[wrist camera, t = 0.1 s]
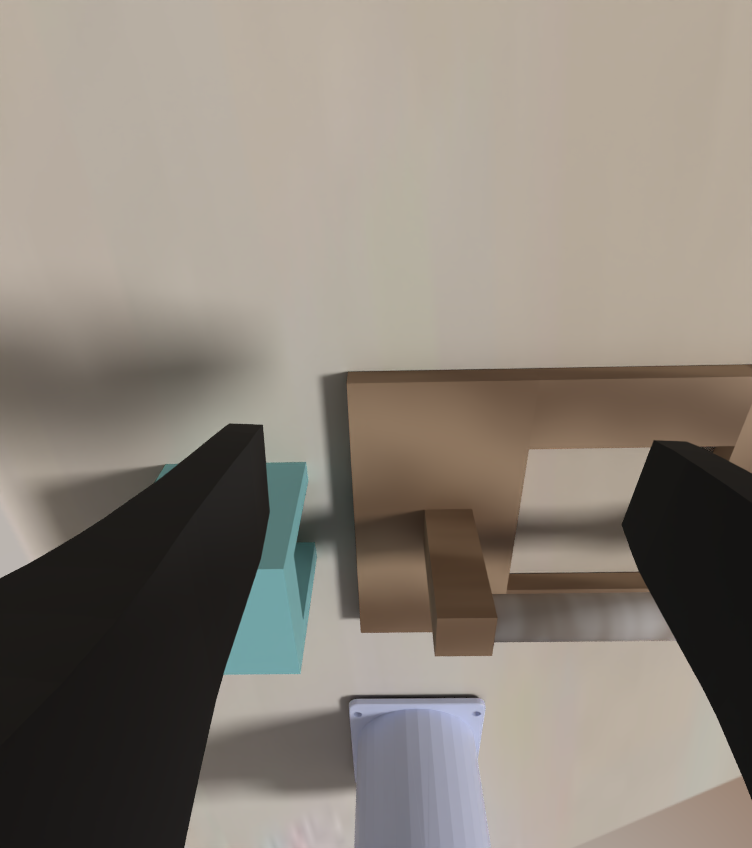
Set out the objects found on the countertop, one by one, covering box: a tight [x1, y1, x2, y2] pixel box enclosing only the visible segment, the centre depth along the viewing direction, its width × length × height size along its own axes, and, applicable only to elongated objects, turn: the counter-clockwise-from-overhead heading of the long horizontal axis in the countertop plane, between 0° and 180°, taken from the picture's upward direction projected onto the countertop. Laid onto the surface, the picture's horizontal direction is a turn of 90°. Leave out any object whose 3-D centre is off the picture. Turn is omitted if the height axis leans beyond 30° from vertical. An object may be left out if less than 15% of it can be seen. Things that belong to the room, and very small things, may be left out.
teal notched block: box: [154, 462, 317, 675], centre depth 21 cm, size 6×6×6 cm
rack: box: [347, 365, 752, 656], centre depth 20 cm, size 14×22×6 cm, turn 91°
